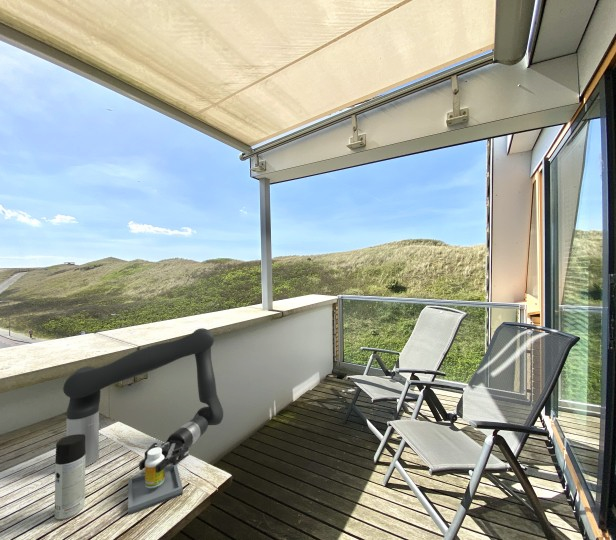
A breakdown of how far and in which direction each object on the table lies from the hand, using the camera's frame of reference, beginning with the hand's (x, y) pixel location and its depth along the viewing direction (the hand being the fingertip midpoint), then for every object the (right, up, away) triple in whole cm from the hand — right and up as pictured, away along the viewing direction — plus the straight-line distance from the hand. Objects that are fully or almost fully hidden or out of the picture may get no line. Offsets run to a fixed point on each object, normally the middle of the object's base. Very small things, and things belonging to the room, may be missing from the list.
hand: (148, 468), depth 87 cm
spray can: (-19, -9, -5) cm, 22 cm away
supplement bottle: (+1, -6, +2) cm, 7 cm away
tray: (+1, -8, +2) cm, 9 cm away
